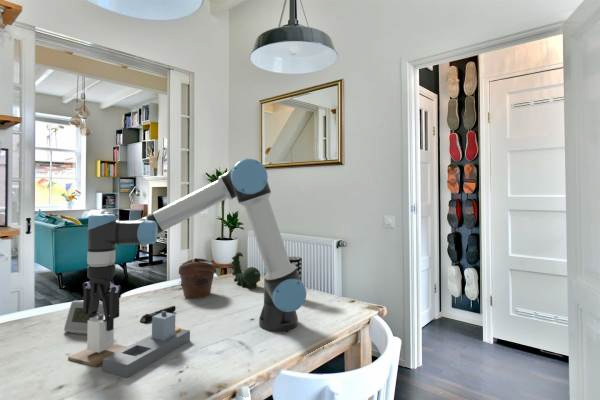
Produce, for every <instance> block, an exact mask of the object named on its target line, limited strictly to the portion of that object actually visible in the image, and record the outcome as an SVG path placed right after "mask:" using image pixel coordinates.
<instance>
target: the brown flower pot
mask: <svg viewBox="0 0 600 400" xmlns="http://www.w3.org/2000/svg"><path fill="white" fill-rule="evenodd" d="M216 273H217V268H216V266H215V264H214V263H213V262H212V261H210V260H208V259H205V258H199V257H198V258H197V257H195V258H192V259H190V260H187V261H185V262H183V263H182V264H181V265H179V267H178V275H179V276H180V281H179V282H178V284H180V287H182V291H183V297H185V298H188V299H201V298H206V297H208V296H209V295H210V294H211V293H212V292H211V291H212V286H213V281H214V277H215V276H214V275H215V274H216Z"/></svg>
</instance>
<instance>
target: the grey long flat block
mask: <svg viewBox="0 0 600 400" xmlns="http://www.w3.org/2000/svg"><path fill="white" fill-rule="evenodd" d="M190 341H191V330H190V329H184V328H181V327H177V326H175V336H174V337H172V338H170V339H168V340H166V341H159V340H154V339H152V334H150V335H149V336H147V337H145V338H143V339H141V340H139V341H136V342H135V343H132V344H130V345H128V346H127V347H126V348H124V349H122V350H120V351H118V352H116V353H114V354H112V355H110V356H108V357H106V358H104V359H103V365H102V372H104V373H108V374H113V375H115V376H119V377H123V378H126V379H128V378H130V377H131V376H133V375H134V374H136V373H137V372H140V371H141V370H143V369H144V368H146V367H148V366H150V365H151V364H153V363H155V362H156V361H158V360H160V359H161V358H163V357H165V356H166V355H168V354H170V353H172V352H173V351H175V350H177V349H179V347H181V346H183V345H185V344H187V343H188V342H190Z"/></svg>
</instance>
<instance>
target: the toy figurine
mask: <svg viewBox="0 0 600 400" xmlns="http://www.w3.org/2000/svg"><path fill="white" fill-rule="evenodd" d="M240 257H241V258H243V257H244V255H243V253H242V252H240V251H239V252H236V253H235V255H233V256H232V257H231V259H232V261H231V264H232V265H233V266H232V267H231V270H233V272H232V273H231V274H232V276H234V279H233V282H234V283H235V282H236V284H237V286H242V287H244V286H246V285H249V288H250V289H256V288H257V285H258V282H260V281H261V273H260V270H259V269H258V268H257V267H254V266H250V267H248V268H246V269H245V270H244V271H243V270H242V268H241V264H240V263H241V261H240Z"/></svg>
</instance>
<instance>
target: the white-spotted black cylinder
mask: <svg viewBox="0 0 600 400" xmlns="http://www.w3.org/2000/svg"><path fill="white" fill-rule="evenodd" d="M288 258H289V261H290V263H291V264H293V265H295V266H296V268H297V271H298V274H299V277H300V280H301V281H302V271H303V270H302V269H303V265H302V264H303V261H302V260H303V258H302V257H300V256H288Z"/></svg>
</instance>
